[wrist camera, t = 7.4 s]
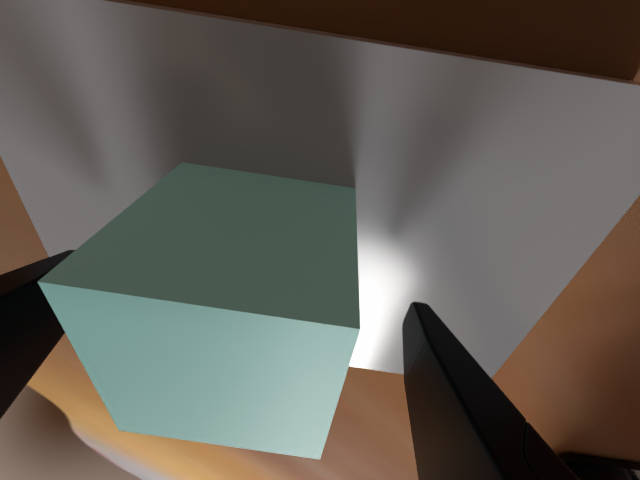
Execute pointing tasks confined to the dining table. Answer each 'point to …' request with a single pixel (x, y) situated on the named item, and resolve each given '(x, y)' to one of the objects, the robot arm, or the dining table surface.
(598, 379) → the dining table surface
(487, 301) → the slate board
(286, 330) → the teal cube
